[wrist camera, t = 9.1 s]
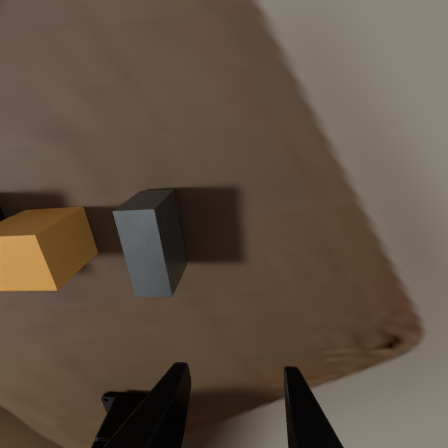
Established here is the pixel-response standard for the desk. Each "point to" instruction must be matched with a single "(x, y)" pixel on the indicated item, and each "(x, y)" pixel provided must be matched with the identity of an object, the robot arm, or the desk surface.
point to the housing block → (44, 248)
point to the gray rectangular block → (152, 242)
